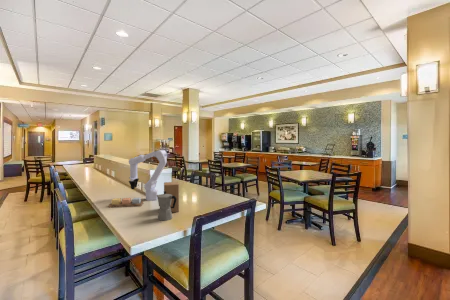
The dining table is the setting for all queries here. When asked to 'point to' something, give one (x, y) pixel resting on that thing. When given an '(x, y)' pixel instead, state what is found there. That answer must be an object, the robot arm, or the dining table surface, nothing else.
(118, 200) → the ochre cube
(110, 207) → the frame
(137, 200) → the slate cube
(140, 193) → the dining table surface
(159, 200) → the coffeepot
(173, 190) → the wooden block
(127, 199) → the terracotta cube
